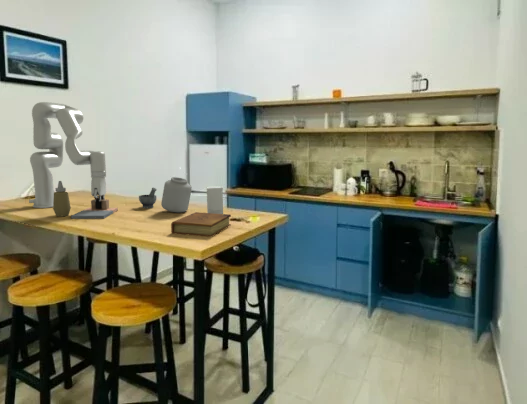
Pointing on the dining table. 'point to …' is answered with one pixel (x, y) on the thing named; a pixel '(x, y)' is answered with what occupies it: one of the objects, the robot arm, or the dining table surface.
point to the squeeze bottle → (61, 201)
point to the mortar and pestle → (148, 199)
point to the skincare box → (215, 200)
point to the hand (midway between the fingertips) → (100, 207)
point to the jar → (176, 195)
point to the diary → (201, 224)
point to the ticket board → (92, 214)
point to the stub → (104, 206)
